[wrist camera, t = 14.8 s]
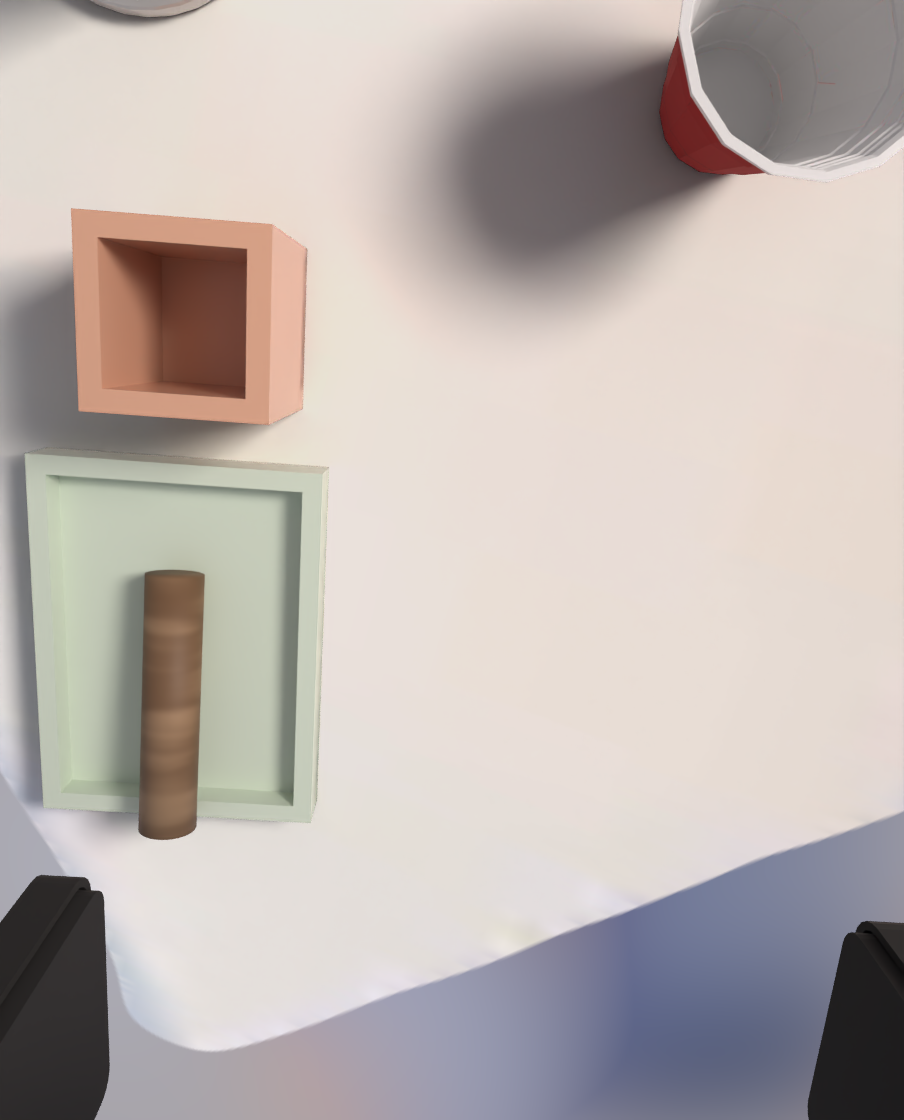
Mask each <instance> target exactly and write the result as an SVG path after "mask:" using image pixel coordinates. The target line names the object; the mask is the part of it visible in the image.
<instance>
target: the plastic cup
mask: <svg viewBox="0 0 904 1120" xmlns="http://www.w3.org/2000/svg"><path fill="white" fill-rule="evenodd" d="M659 113H660V118H661V123H662V128H663V132H664V137H665V140H666V141H667V143H668V144H669V146H670V147H671V149H672V150H673V152H674V153H675V155H676V156H677V158H678V159H680V160H681V161H683V162H684V163H686V164H688V165H689V166H691V167H692V168H694V169H696V170H697V171H699V172H706V173H714V174H722V175H724V174H738V175H747V174H759V173H766V174H769V175H776V176H783V177H790V178H797V179H805V180H812V181H819V182H830V181H833V180H836V179H840V178H843V177H846V176H850V175H853V174H856V173H860V172H863V171H866V170H870V169H873V168H876V167H880V166H881V165H883V164H884V163H885V162H886V161H888V160H889V159H890V158H891V157H893V156H894V155H895V154H896V153H897V152H899V151H900V150H901V149H902V148H904V0H683V2H682V9H681V15H680V22H679V29H678V36H677V39H676V42H675V45H674V48H673V51H672V54H671V57H670V60H669V64H668V70H667V76H666V79H665V82H664V85H663V92H662V98H661V105H660V111H659Z"/></svg>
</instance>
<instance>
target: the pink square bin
mask: <svg viewBox="0 0 904 1120" xmlns="http://www.w3.org/2000/svg"><path fill="white" fill-rule="evenodd" d="M71 219H72V246H73V273H74V300H75V327H76V354H77V381H78V408H79V411H84V412H97V413H111V414H125V415H139V416H153V417H167V418H181V419H195V420H209V421H223V422H237V423H251V424H265V425H269V424H272V423H274V422H276V421H278V420H280V419H282V418H284V417H287V416H289V415H291V414H293V413H295V412H297V411H299V410H302V409H303V379H304V343H305V308H306V272H307V249H306V248H305V247H304V246H302V245H301V244H299V243H298V242H297V241H295V240H294V239H292V238H291V237H290V236H288V235H287V234H285V233H284V232H283V231H281V230H280V229H278V228H277V227H276V226H274V225H273V224H262V223H249V222H237V221H224V220H211V219H199V218H186V217H173V216H161V215H148V214H135V213H123V212H110V211H98V210H85V209H72V208H71Z"/></svg>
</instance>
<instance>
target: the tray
mask: <svg viewBox="0 0 904 1120" xmlns="http://www.w3.org/2000/svg"><path fill="white" fill-rule="evenodd" d="M24 454H25V473H26V492H27V510H28V529H29V548H30V566H31V585H32V604H33V622H34V641H35V660H36V678H37V697H38V716H39V734H40V753H41V772H42V790H43V808H55V809H73V810H90V811H107V812H125V813H139V786H140V745H141V703H142V662H143V620H144V579H145V573H146V572H149V571H155V570H188V571H196V572H200V573H203V574H205V586H204V615H203V645H202V674H201V704H200V733H199V763H198V792H197V817H212V818H229V819H247V820H264V821H281V822H299V823H311V820H312V816H313V812H314V809H315V805H316V801H317V781H318V754H319V727H320V699H321V672H322V645H323V617H324V590H325V563H326V535H327V508H328V481H329V467H317V466H303V465H288V464H274V463H260V462H246V461H232V460H217V459H203V458H189V457H175V456H161V455H146V454H132V453H118V452H104V451H90V450H75V449H61V448H43V449H39V450H36V451H32V452H28V453H24Z"/></svg>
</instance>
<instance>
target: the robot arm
mask: <svg viewBox="0 0 904 1120" xmlns="http://www.w3.org/2000/svg"><path fill="white" fill-rule="evenodd" d="M90 1H92V2H94V3H95V4H97V5H100V6H102V7H105V8H108V9H111V10H114V11H117V12H119V13H122V14H129V15H136V16H143V17H158V16H171V15H176V14H180V13H183V12H186V11H190V10H193V9H196V8H199V7H201V6H202V5H204V4H206V3H208V2H209V1H211V0H90ZM106 975H107V974H106V945H105V915H104V897H103V894H102V892H100V891H93V890H91V887H90V883H89V881H88V879H86V878H84V877H66V876H48V875H40V876H37V877H36V878H35V879H34V880H33V881H32V882H31V883H30V884H29V886H28V887H27V888H26V890H25V891H24V892H23V893H22V895H21V896H20V898H19V899H18V900H17V901H16V903H15V904H14V905H13V907H12V908H11V909H10V911H9V912H8V913H7V915H6V916H5V917H4V919H3V920H2V921H1V922H0V1120H94V1119H95V1117H96V1115H97V1112H98V1110H99V1108H100V1106H101V1103H102V1101H103V1098H104V1095H105V1091H106V1088H107V1083H108V1077H109V1066H110V1065H109V1064H110V1063H109V1036H108V1035H109V1034H108V1006H107V1005H108V1004H107V976H106ZM808 1117H809V1120H904V923H891V922H874V921H865V922H861V924H860V925H859V926H858V927H857V930H856V932H855V933H853V932H852V933H848V934H847V935H846V937H845V938H844V941H843V945H842V950H841V954H840V959H839V963H838V968H837V972H836V977H835V981H834V986H833V990H832V995H831V999H830V1004H829V1008H828V1013H827V1017H826V1022H825V1027H824V1032H823V1036H822V1040H821V1045H820V1049H819V1054H818V1058H817V1063H816V1067H815V1072H814V1076H813V1081H812V1085H811V1090H810V1095H809V1099H808Z"/></svg>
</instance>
